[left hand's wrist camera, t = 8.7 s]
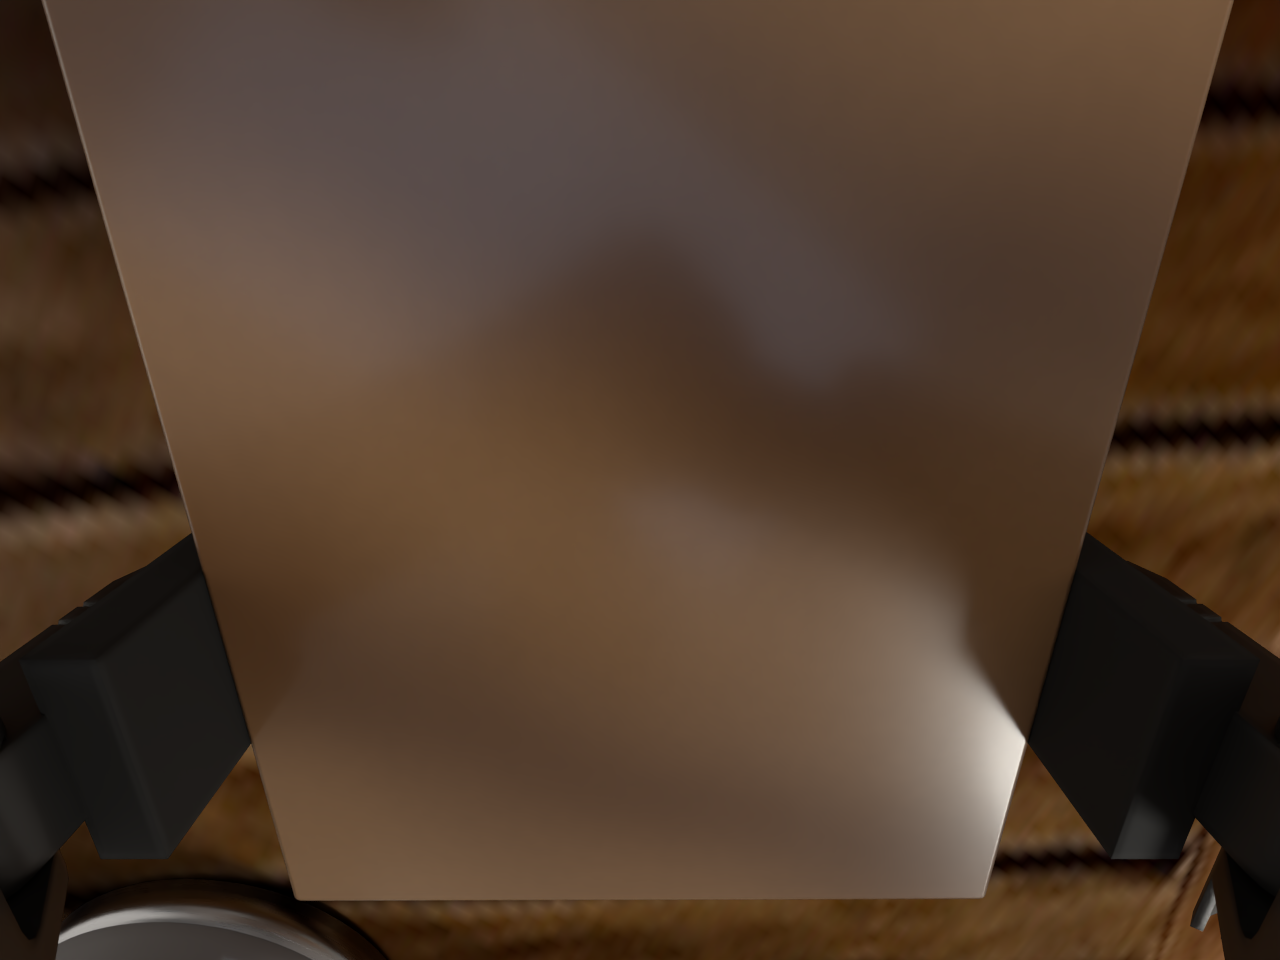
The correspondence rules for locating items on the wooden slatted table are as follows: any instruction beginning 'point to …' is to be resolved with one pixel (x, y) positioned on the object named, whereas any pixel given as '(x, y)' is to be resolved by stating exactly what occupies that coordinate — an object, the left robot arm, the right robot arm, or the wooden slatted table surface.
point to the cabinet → (638, 409)
